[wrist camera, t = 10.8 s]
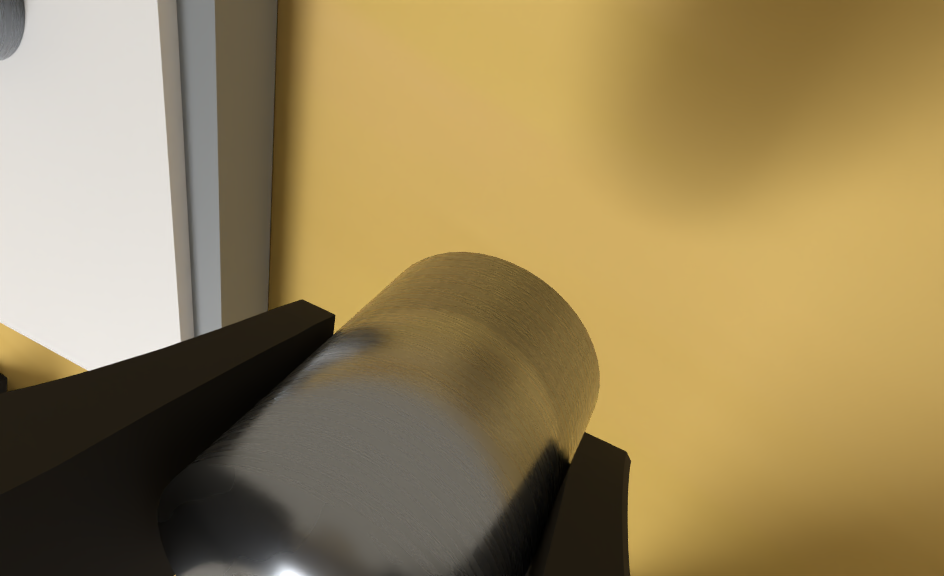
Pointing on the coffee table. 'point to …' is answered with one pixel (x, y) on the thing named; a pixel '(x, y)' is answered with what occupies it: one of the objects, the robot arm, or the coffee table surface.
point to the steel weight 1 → (11, 26)
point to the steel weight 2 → (400, 438)
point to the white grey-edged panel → (136, 173)
